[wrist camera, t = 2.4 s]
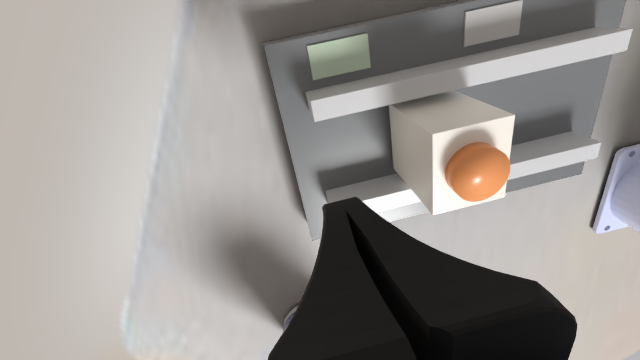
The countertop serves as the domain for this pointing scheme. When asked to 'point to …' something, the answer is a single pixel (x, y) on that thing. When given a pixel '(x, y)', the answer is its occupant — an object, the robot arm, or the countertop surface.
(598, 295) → the countertop surface
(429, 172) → the breaker knob
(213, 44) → the countertop surface
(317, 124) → the grey flat ridged block
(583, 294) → the countertop surface
